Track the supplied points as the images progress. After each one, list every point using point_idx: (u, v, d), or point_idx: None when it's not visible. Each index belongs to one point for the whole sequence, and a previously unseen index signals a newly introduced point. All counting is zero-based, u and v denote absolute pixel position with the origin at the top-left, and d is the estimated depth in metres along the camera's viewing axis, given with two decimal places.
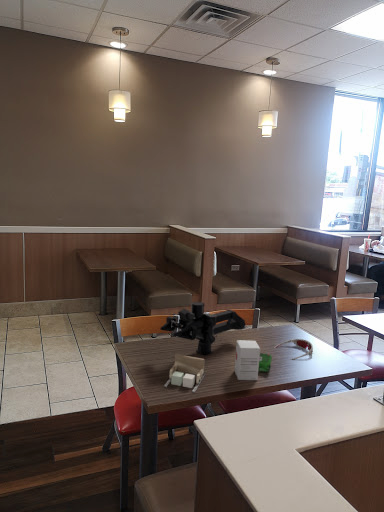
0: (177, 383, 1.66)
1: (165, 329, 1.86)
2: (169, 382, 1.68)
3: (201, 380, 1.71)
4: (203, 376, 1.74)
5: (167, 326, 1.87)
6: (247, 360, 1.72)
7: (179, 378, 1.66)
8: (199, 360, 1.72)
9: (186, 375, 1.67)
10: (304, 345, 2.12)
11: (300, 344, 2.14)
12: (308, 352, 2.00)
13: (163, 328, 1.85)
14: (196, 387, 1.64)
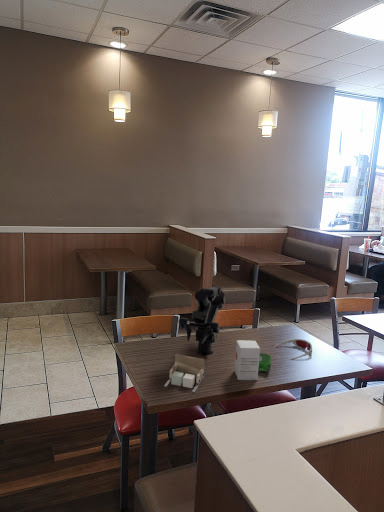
0: (177, 383, 1.66)
1: (189, 336, 1.84)
2: (169, 382, 1.68)
3: (201, 380, 1.71)
4: (203, 376, 1.74)
5: (189, 332, 1.83)
6: (247, 360, 1.72)
7: (179, 378, 1.66)
8: (199, 360, 1.72)
9: (186, 375, 1.67)
10: (303, 345, 2.12)
11: (299, 344, 2.14)
12: (307, 352, 2.00)
13: (189, 338, 1.82)
14: (196, 387, 1.64)
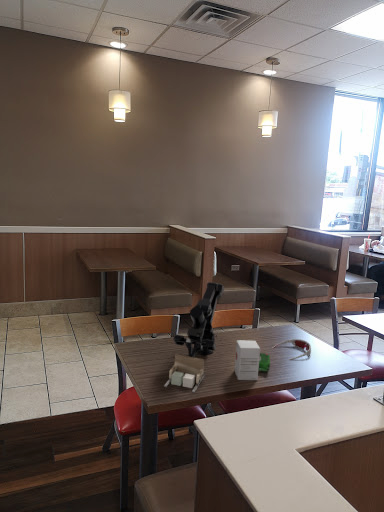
0: (177, 383, 1.66)
1: None
2: (169, 382, 1.68)
3: (201, 380, 1.71)
4: (203, 376, 1.74)
5: (191, 350, 1.77)
6: (247, 360, 1.72)
7: (179, 378, 1.66)
8: (199, 360, 1.72)
9: (186, 375, 1.67)
10: (302, 345, 2.12)
11: (298, 344, 2.13)
12: (306, 352, 2.00)
13: (190, 356, 1.76)
14: (196, 387, 1.64)
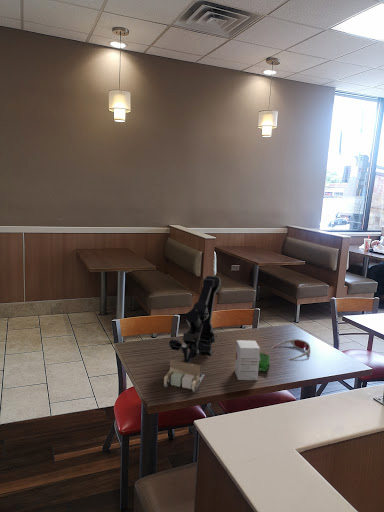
0: (176, 384, 1.65)
1: None
2: (169, 382, 1.68)
3: (201, 380, 1.71)
4: (203, 376, 1.74)
5: (187, 356, 1.71)
6: (247, 360, 1.72)
7: (178, 379, 1.65)
8: (195, 366, 1.66)
9: (185, 376, 1.66)
10: (301, 345, 2.12)
11: (297, 344, 2.13)
12: (305, 352, 1.99)
13: (186, 362, 1.70)
14: (196, 387, 1.64)
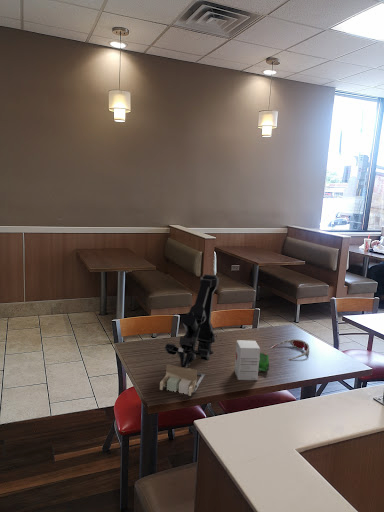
0: (173, 389, 1.61)
1: None
2: None
3: (201, 380, 1.71)
4: (203, 376, 1.74)
5: (183, 361, 1.67)
6: (247, 360, 1.72)
7: (175, 384, 1.60)
8: (192, 371, 1.62)
9: (182, 381, 1.62)
10: (301, 345, 2.12)
11: (296, 344, 2.13)
12: (304, 352, 1.99)
13: None
14: None
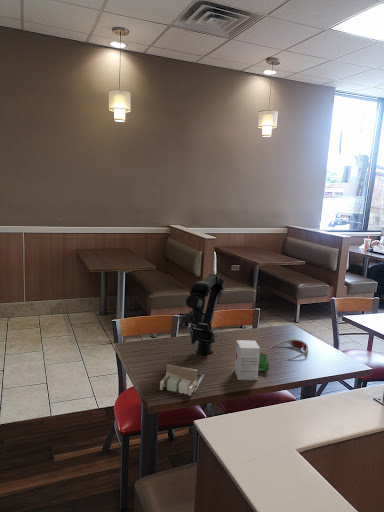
0: (173, 389, 1.61)
1: None
2: None
3: (201, 380, 1.71)
4: (203, 376, 1.74)
5: None
6: (247, 360, 1.72)
7: (175, 384, 1.61)
8: (192, 371, 1.62)
9: (182, 381, 1.62)
10: (299, 345, 2.11)
11: (295, 344, 2.13)
12: (303, 353, 1.99)
13: None
14: None
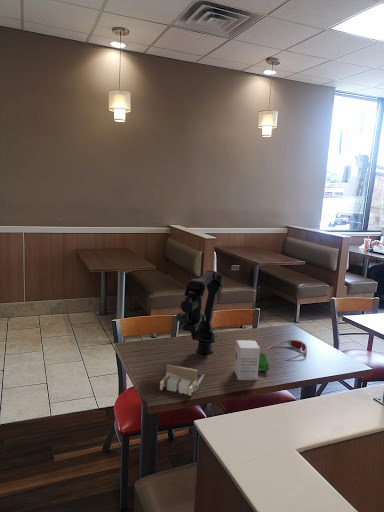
0: (173, 389, 1.61)
1: None
2: None
3: (201, 380, 1.71)
4: (203, 376, 1.74)
5: None
6: (247, 360, 1.72)
7: (175, 384, 1.61)
8: (192, 371, 1.62)
9: (182, 381, 1.62)
10: (298, 346, 2.11)
11: (294, 345, 2.13)
12: (302, 353, 1.99)
13: None
14: None
